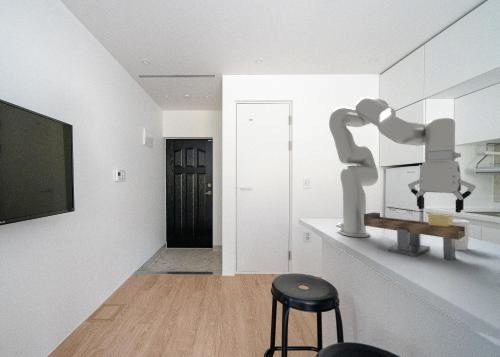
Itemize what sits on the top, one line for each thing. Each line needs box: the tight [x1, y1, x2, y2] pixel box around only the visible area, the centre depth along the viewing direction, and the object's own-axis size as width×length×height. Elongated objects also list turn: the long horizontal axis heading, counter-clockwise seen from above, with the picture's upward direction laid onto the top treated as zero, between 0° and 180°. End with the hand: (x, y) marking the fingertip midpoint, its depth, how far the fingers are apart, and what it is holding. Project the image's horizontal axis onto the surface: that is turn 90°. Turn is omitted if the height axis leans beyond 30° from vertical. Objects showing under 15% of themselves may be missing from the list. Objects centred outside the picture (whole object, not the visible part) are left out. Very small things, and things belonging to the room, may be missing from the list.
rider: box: [427, 212, 454, 229], centre depth 76 cm, size 5×5×5 cm
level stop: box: [442, 237, 456, 261], centre depth 74 cm, size 2×4×7 cm, turn 127°
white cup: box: [453, 218, 470, 251], centre depth 86 cm, size 8×8×10 cm
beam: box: [364, 212, 465, 240], centre depth 82 cm, size 28×8×5 cm, turn 37°
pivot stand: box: [387, 228, 431, 258], centre depth 82 cm, size 8×14×8 cm, turn 127°
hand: (438, 210), depth 76 cm, fingers open, 9 cm apart
